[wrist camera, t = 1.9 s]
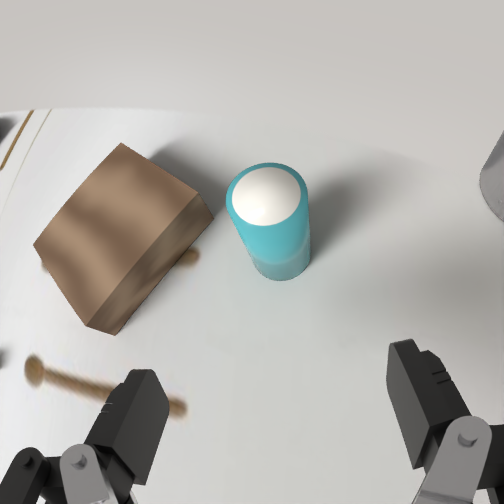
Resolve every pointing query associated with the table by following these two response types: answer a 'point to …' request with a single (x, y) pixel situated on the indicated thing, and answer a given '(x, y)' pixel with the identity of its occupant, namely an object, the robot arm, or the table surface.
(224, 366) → the table surface
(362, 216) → the table surface
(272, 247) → the tumbler
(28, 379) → the table surface
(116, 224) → the wooden square base
